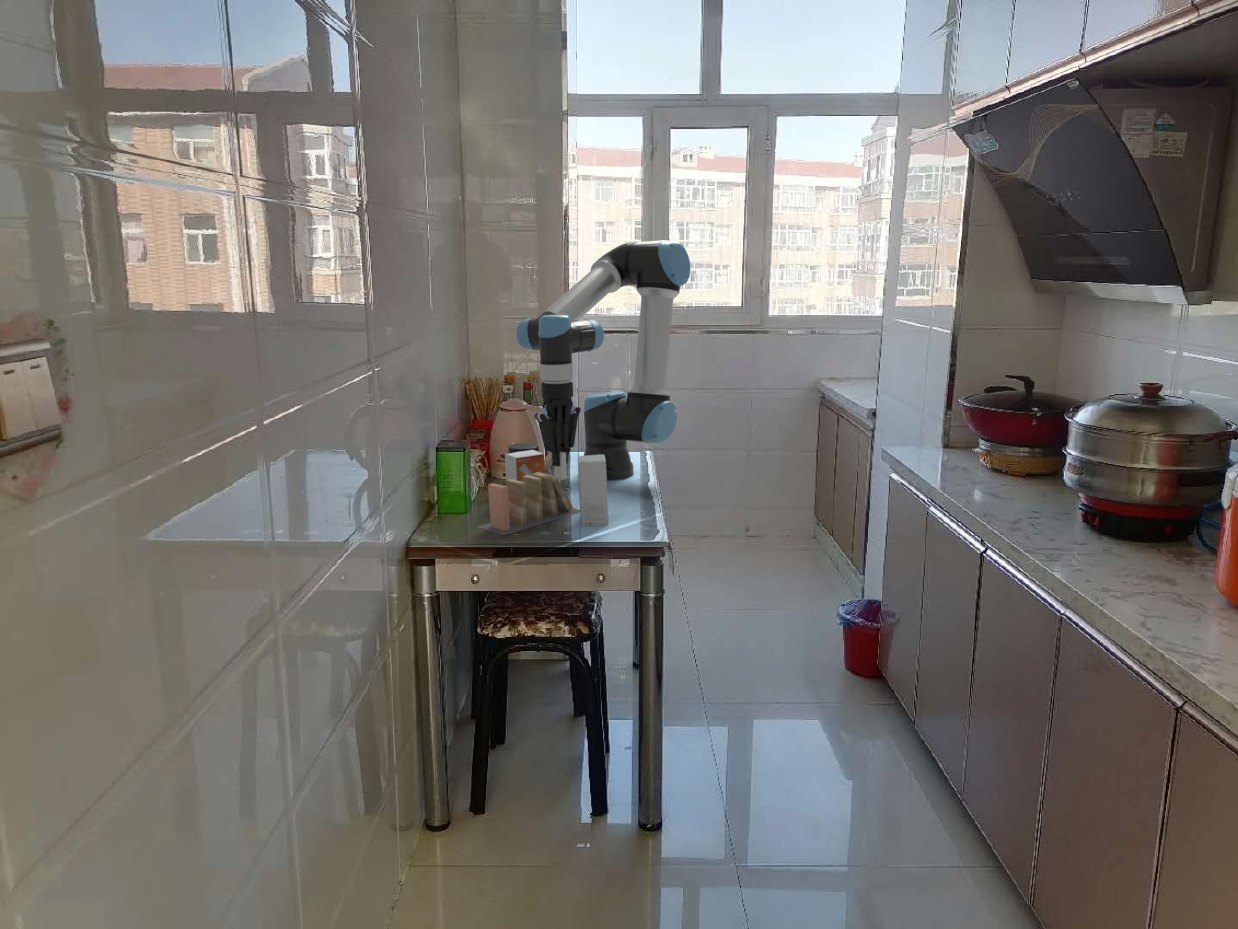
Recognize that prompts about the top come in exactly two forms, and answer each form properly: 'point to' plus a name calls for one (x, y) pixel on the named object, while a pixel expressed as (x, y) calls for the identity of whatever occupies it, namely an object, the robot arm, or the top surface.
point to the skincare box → (593, 490)
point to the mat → (530, 522)
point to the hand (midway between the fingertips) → (560, 478)
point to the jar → (522, 447)
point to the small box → (523, 464)
